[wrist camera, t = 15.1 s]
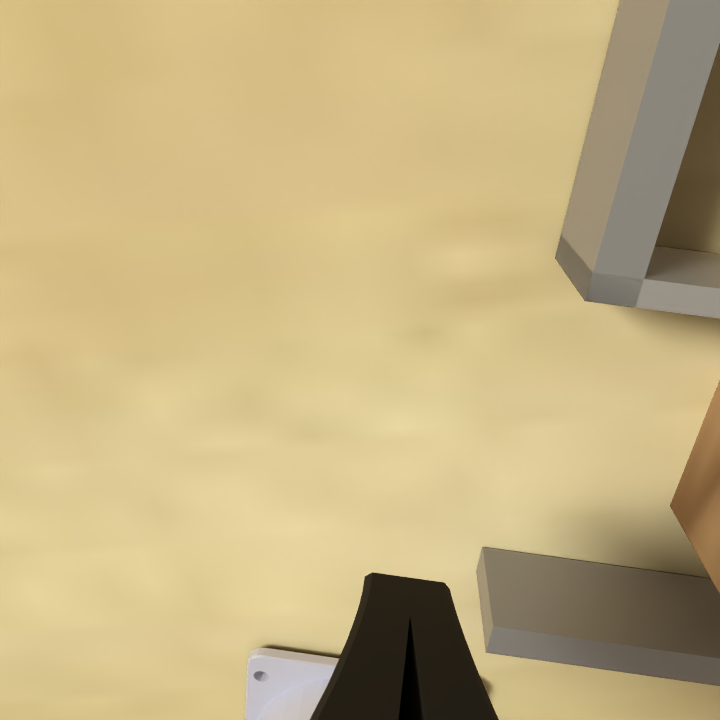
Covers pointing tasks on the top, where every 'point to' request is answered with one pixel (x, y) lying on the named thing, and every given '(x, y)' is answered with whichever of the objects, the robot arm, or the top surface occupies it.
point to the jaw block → (703, 493)
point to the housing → (632, 289)
